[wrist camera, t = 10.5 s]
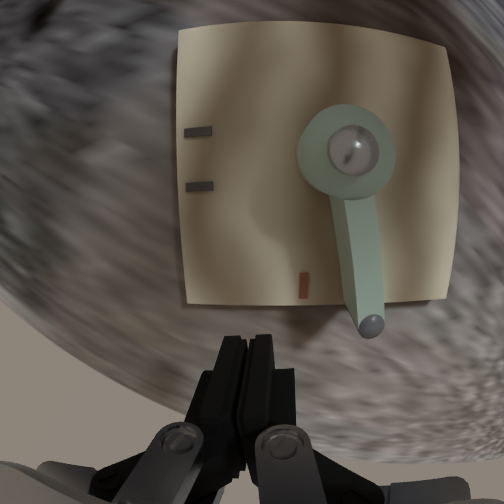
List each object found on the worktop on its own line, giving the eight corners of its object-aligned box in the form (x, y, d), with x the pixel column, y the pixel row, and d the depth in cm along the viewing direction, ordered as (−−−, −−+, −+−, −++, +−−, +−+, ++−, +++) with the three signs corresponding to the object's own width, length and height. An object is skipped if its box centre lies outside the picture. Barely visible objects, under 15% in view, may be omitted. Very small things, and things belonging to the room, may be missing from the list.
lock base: (437, 53, 15) (446, 46, 13) (437, 291, 20) (446, 299, 19) (184, 38, 17) (178, 29, 15) (192, 295, 22) (186, 304, 20)
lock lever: (288, 125, 16) (292, 107, 12) (361, 115, 16) (389, 97, 11) (322, 314, 19) (334, 355, 15) (386, 300, 19) (413, 335, 14)
